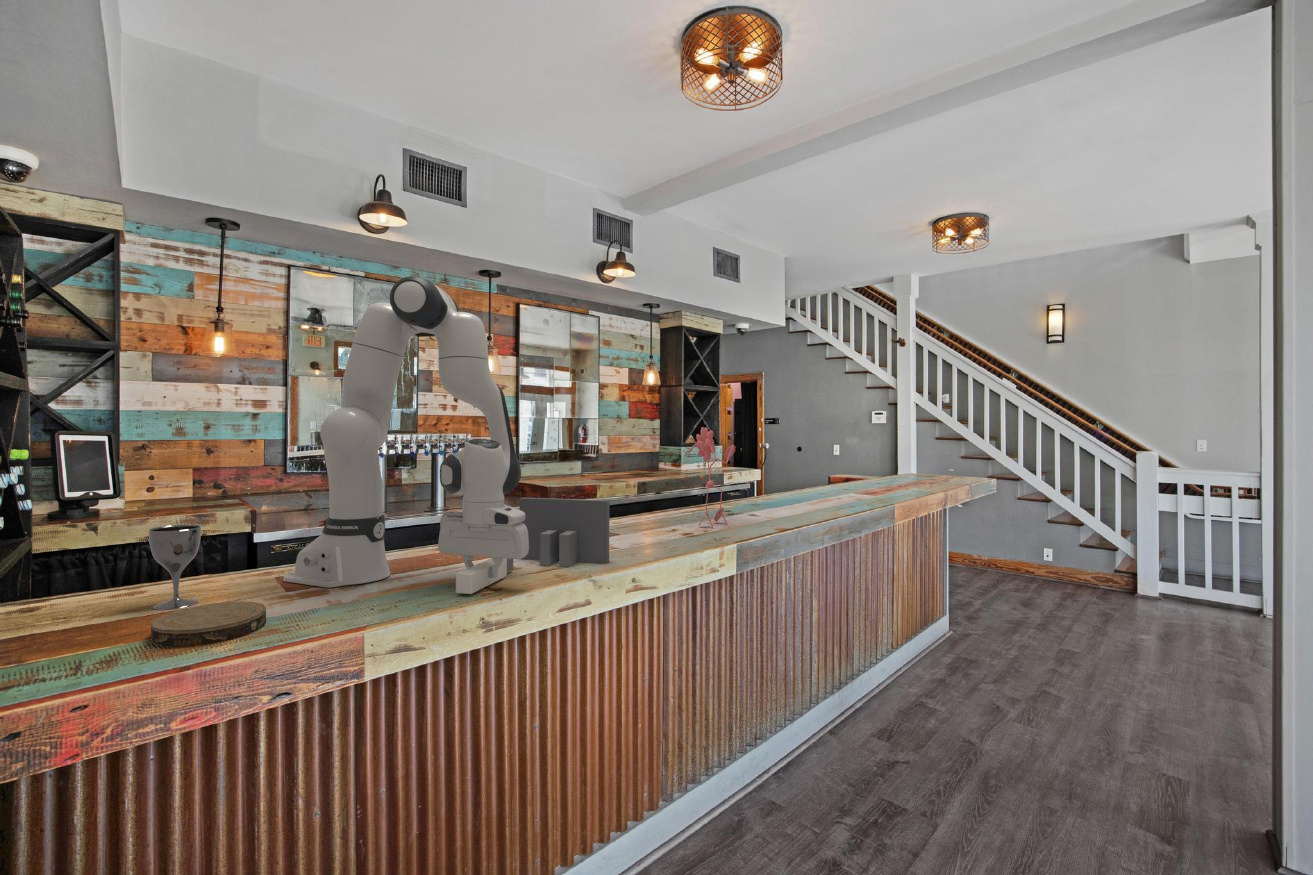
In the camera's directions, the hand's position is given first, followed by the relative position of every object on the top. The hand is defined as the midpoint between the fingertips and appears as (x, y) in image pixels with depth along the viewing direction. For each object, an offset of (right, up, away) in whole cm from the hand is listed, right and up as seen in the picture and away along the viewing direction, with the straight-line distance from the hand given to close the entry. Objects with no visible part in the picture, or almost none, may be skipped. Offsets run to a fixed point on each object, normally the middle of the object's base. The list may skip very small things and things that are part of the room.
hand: (482, 576), depth 135 cm
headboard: (+13, -2, +23) cm, 26 cm away
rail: (+1, -2, +3) cm, 3 cm away
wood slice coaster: (-38, -3, -29) cm, 48 cm away
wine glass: (-56, -2, -15) cm, 58 cm away
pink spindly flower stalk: (+55, -1, +85) cm, 102 cm away
